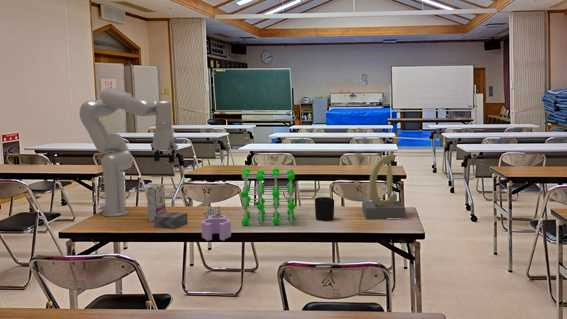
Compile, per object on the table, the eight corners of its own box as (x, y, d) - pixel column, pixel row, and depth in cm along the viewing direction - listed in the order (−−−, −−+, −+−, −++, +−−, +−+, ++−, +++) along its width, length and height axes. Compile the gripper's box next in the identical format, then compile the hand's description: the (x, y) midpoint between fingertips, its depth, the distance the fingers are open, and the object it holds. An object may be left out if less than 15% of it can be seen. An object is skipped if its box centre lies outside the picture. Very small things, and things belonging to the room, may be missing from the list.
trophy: (405, 219, 293) (405, 157, 290) (366, 219, 294) (366, 157, 290) (399, 211, 312) (399, 152, 308) (362, 211, 312) (362, 153, 309)
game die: (217, 230, 292) (229, 213, 292) (210, 227, 284) (222, 209, 285) (204, 219, 296) (216, 202, 296) (196, 216, 288) (209, 199, 288)
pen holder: (337, 218, 298) (337, 197, 297) (330, 221, 289) (330, 201, 288) (319, 216, 302) (319, 196, 300) (311, 220, 293) (311, 199, 292)
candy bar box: (156, 216, 307) (155, 184, 305) (166, 216, 306) (164, 184, 304) (147, 221, 296) (146, 187, 294) (157, 221, 295) (155, 188, 293)
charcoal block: (154, 227, 284) (154, 216, 283) (167, 222, 294) (166, 211, 294) (175, 228, 280) (175, 217, 280) (187, 223, 290) (187, 213, 290)
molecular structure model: (244, 215, 307) (243, 167, 304) (294, 214, 307) (293, 166, 304) (241, 226, 283) (240, 174, 280) (295, 225, 283) (294, 173, 280)
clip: (204, 230, 277) (203, 215, 276) (231, 229, 277) (231, 214, 276) (200, 241, 257) (200, 225, 256) (230, 240, 257) (229, 224, 257)
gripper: (145, 126, 297) (145, 161, 299) (171, 128, 287) (171, 164, 290) (156, 125, 303) (156, 159, 305) (182, 127, 294) (182, 162, 296)
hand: (164, 161), depth 297 cm, fingers open, 9 cm apart
